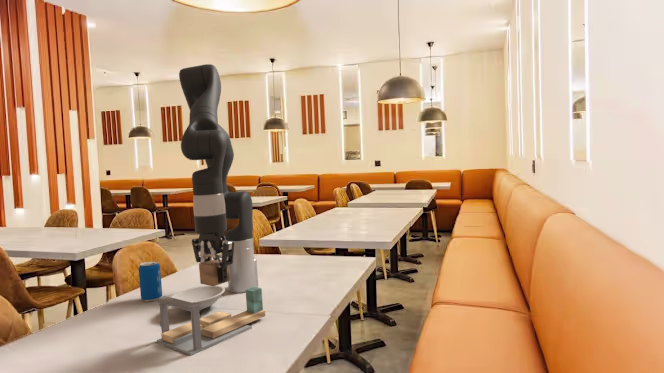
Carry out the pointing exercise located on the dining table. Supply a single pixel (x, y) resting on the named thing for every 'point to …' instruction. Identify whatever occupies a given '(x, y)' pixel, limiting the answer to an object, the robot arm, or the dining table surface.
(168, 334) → the far strip
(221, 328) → the strip
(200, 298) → the dish
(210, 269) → the walnut block
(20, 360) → the dining table surface
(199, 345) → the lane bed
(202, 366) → the dining table surface
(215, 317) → the light wood block
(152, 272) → the beverage can
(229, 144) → the robot arm
